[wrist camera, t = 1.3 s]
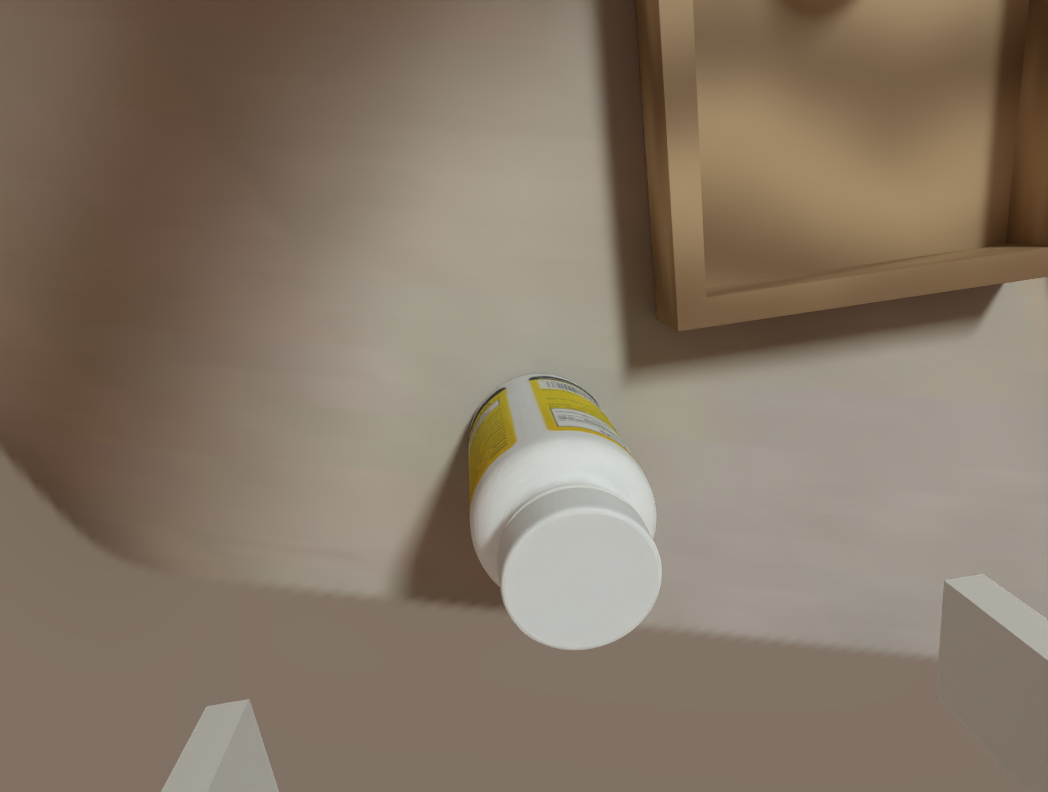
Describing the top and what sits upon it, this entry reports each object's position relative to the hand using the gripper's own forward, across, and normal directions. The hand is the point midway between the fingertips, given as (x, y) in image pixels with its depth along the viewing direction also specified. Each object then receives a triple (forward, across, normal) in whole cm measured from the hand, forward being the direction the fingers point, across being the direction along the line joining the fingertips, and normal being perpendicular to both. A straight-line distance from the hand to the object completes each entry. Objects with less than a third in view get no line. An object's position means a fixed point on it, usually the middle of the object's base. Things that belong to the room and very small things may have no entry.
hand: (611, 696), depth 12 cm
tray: (+13, +12, +12) cm, 22 cm away
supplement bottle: (+13, 0, 0) cm, 13 cm away
